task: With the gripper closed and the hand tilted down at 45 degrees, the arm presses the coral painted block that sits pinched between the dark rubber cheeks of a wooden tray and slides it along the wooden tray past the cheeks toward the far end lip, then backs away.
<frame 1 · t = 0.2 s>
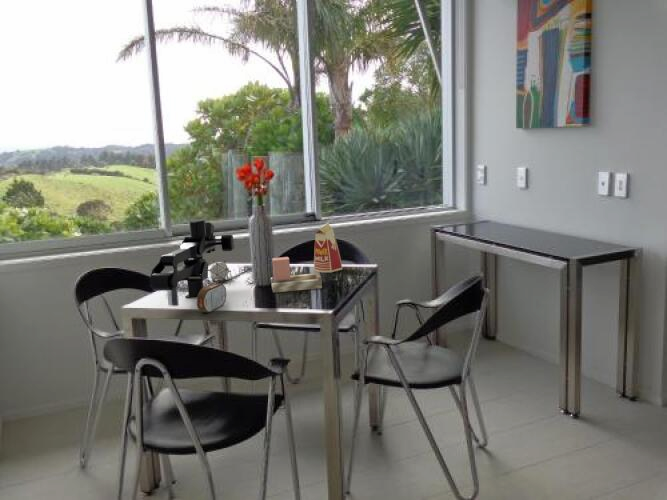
hand: (218, 240, 267), 17 cm above the table, tool horizontal, fingers open, 9 cm apart
geodesic ball: (220, 280, 271), on the table
coral block: (281, 271, 248), point 6 cm above the table, slide at 0.0 cm
wooden tray: (282, 287, 249), on the table
milk carton: (327, 270, 276), on the table
tin: (213, 310, 223), on the table
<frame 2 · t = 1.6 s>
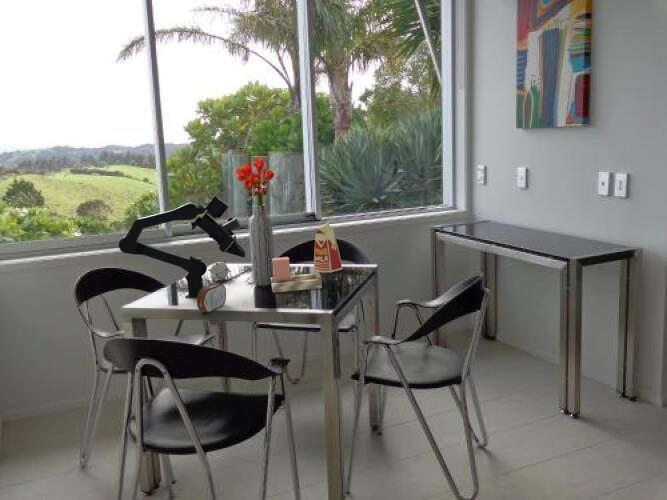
hand: (244, 255, 245), 14 cm above the table, tool tilted 45°, fingers open, 6 cm apart
nothing on the table moved.
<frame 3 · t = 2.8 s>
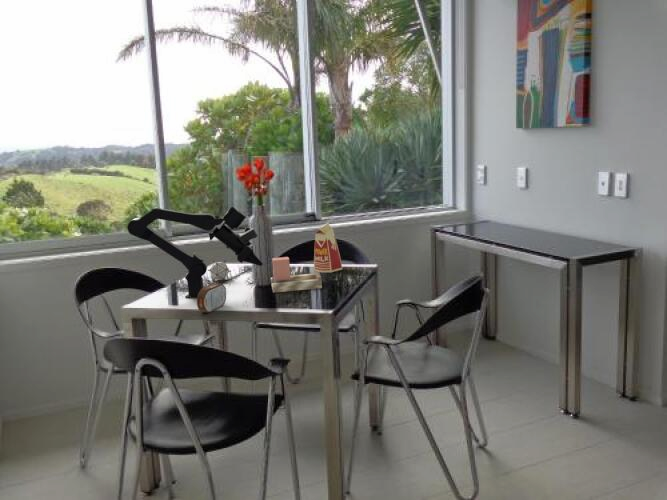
hand: (262, 264, 247), 9 cm above the table, tool tilted 45°, fingers closed
nothing on the table moved.
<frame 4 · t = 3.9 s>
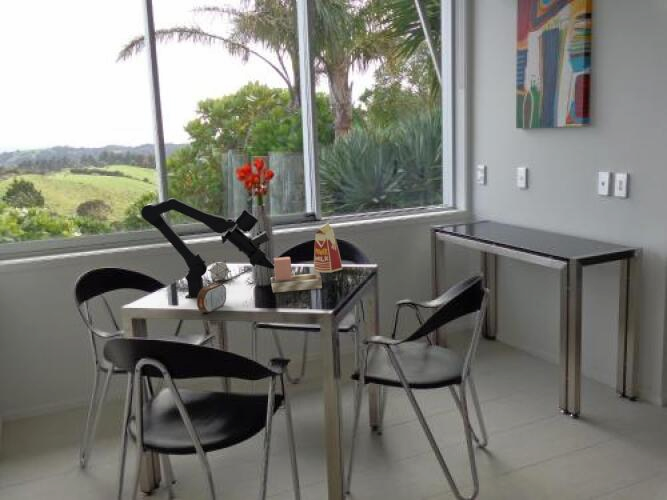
hand: (273, 268, 248), 8 cm above the table, tool tilted 45°, fingers closed, pressing on coral block
coral block: (282, 271, 248), point 6 cm above the table, slide at 0.5 cm, touching gripper
everything else where it was.
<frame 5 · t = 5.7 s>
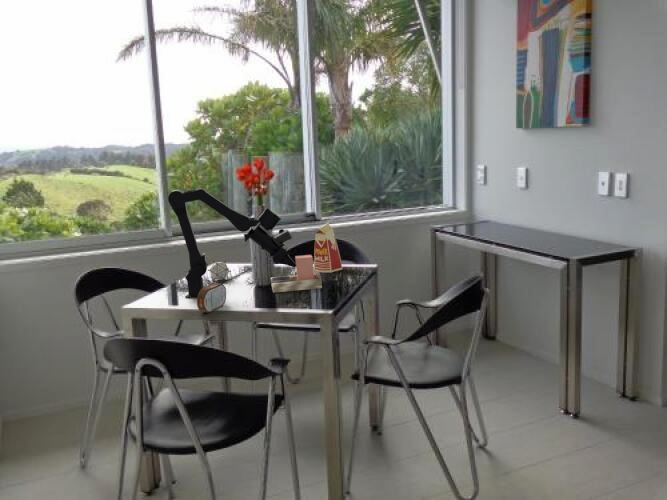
hand: (295, 266, 249), 8 cm above the table, tool tilted 45°, fingers closed, pressing on coral block
coral block: (304, 269, 249), point 6 cm above the table, slide at 8.7 cm, touching gripper
everything else where it was.
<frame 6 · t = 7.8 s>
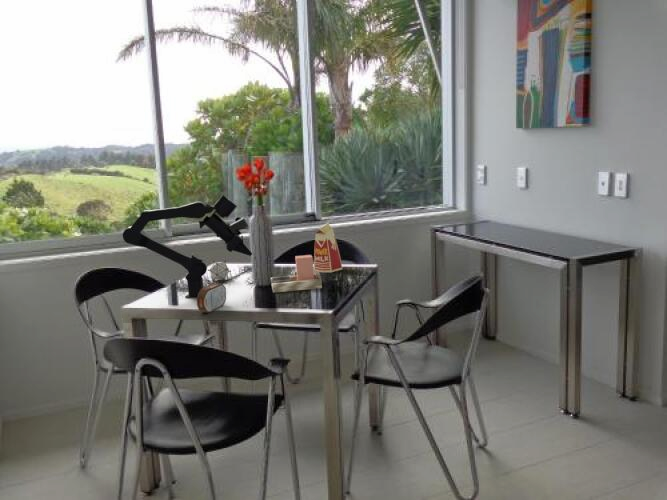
hand: (251, 254, 246), 13 cm above the table, tool tilted 45°, fingers closed
coral block: (304, 269, 249), point 6 cm above the table, slide at 8.7 cm
everything else where it was.
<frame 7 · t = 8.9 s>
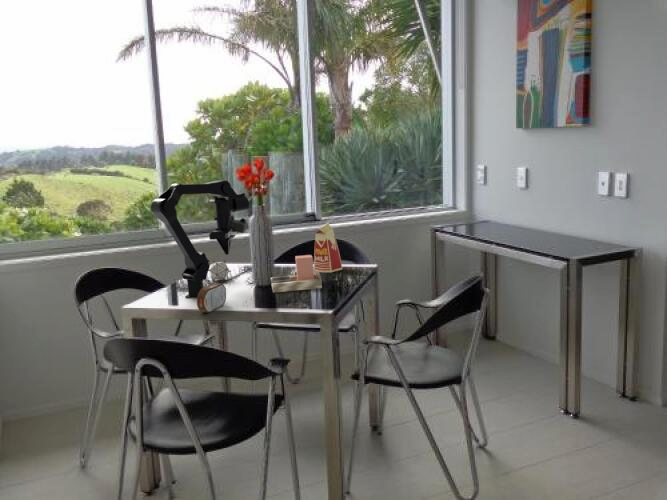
hand: (227, 254, 253), 13 cm above the table, tool pointing down, fingers closed
nothing on the table moved.
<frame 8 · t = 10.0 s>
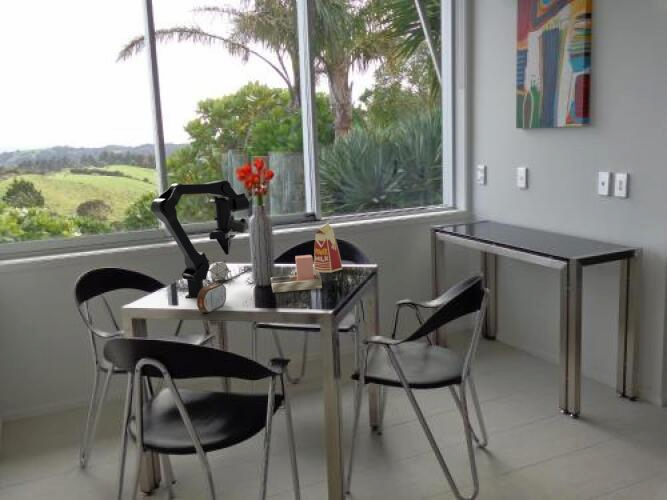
hand: (227, 254, 253), 13 cm above the table, tool pointing down, fingers closed
nothing on the table moved.
at the end: coral block slide at 8.7 cm; coral block touching nothing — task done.
